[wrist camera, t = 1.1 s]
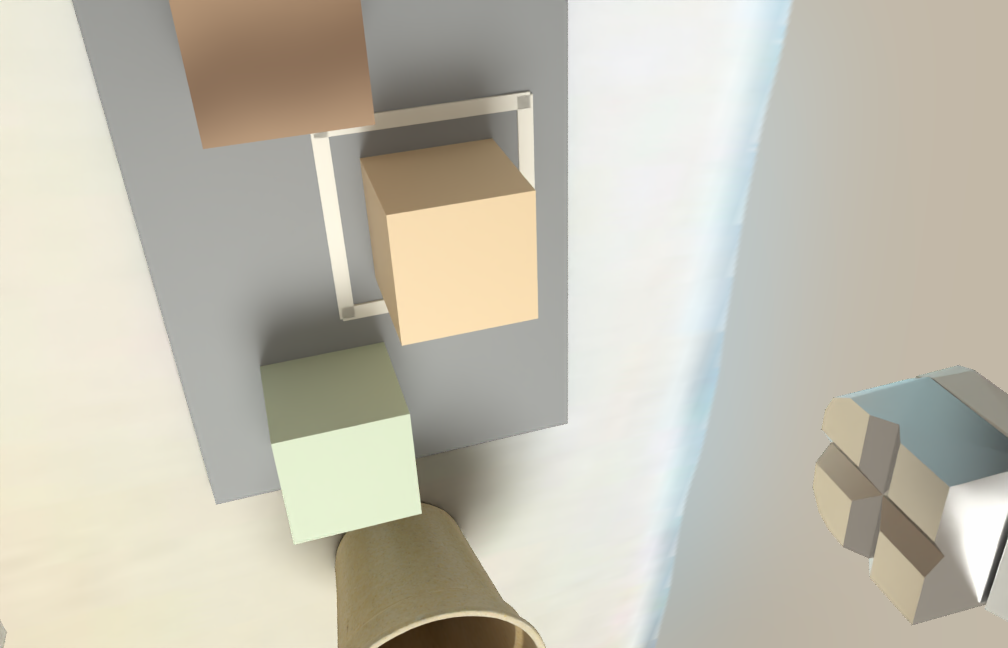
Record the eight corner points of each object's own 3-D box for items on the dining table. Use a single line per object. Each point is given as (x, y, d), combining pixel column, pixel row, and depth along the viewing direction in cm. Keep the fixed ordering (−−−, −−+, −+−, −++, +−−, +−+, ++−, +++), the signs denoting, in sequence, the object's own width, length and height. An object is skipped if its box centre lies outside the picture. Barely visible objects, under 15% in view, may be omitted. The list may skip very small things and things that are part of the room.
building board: (42, -117, 26) (15, -89, 22) (559, -155, 30) (630, -139, 25) (215, 492, 40) (221, 591, 35) (561, 413, 43) (609, 494, 38)
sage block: (259, 366, 36) (270, 444, 32) (383, 341, 37) (409, 413, 33) (281, 462, 39) (294, 544, 35) (396, 436, 40) (421, 513, 36)
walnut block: (161, -67, 27) (160, -35, 23) (328, -82, 29) (354, -54, 24) (198, 95, 30) (203, 149, 26) (348, 76, 31) (375, 124, 27)
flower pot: (339, 457, 41) (374, 604, 34) (520, 485, 45) (585, 620, 38) (274, 608, 44) (294, 769, 37) (448, 621, 48) (495, 767, 41)
